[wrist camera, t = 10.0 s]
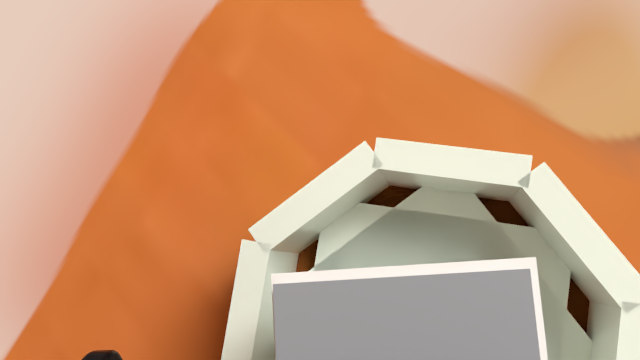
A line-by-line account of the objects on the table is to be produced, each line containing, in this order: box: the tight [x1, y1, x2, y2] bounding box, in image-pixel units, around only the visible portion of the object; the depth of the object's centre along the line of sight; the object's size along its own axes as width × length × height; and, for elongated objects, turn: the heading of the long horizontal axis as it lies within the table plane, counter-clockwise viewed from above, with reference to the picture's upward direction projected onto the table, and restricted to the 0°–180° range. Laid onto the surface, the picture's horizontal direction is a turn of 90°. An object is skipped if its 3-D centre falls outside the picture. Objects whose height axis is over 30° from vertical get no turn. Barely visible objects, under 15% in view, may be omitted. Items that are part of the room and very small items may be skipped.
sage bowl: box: [221, 138, 640, 360], centre depth 20 cm, size 13×13×4 cm
